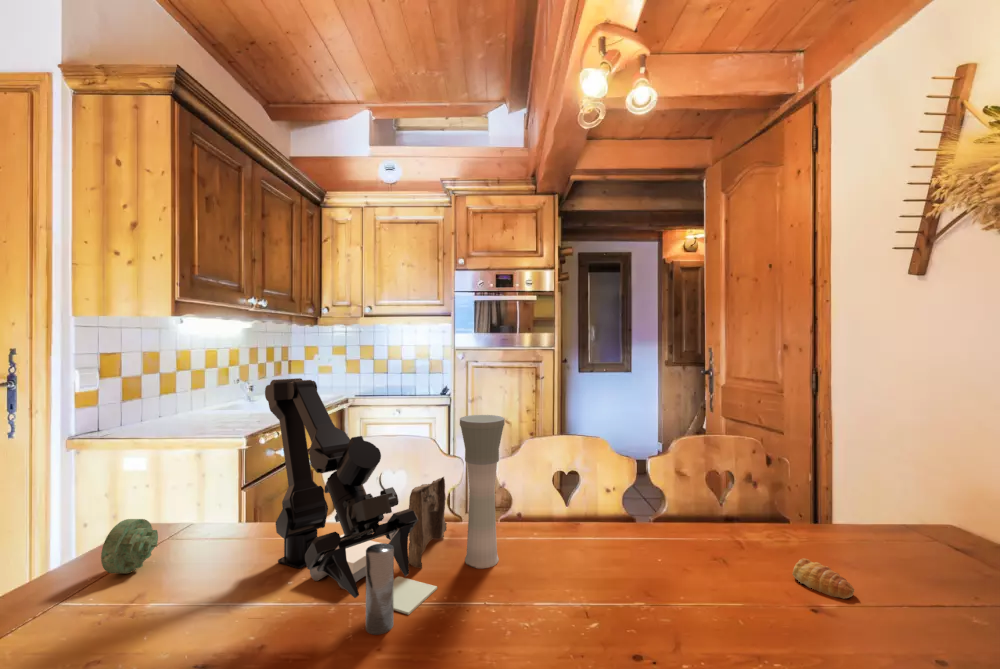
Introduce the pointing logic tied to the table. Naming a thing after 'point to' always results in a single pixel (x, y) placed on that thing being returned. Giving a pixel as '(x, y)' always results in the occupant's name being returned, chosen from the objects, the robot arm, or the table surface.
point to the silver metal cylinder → (379, 588)
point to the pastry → (822, 579)
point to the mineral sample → (426, 518)
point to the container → (482, 486)
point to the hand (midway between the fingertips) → (383, 585)
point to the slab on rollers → (351, 561)
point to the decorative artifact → (128, 546)
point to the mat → (410, 594)
